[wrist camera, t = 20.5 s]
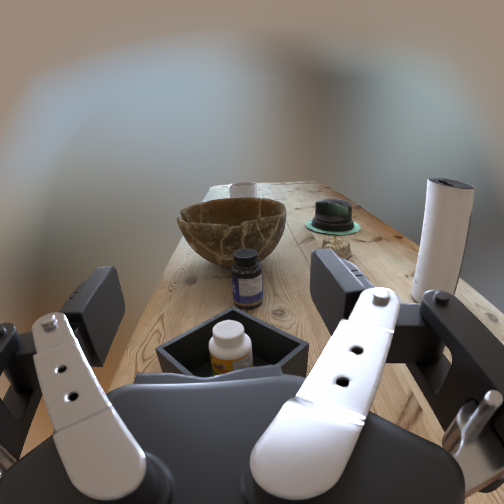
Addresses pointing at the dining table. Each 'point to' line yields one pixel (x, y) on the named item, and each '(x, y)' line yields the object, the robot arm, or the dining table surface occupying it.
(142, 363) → the dining table surface
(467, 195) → the speaker
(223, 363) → the supplement bottle
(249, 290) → the pill bottle
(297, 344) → the open storage box
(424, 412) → the dining table surface
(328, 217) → the fedora hat
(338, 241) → the cake
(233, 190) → the planter
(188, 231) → the bowl
